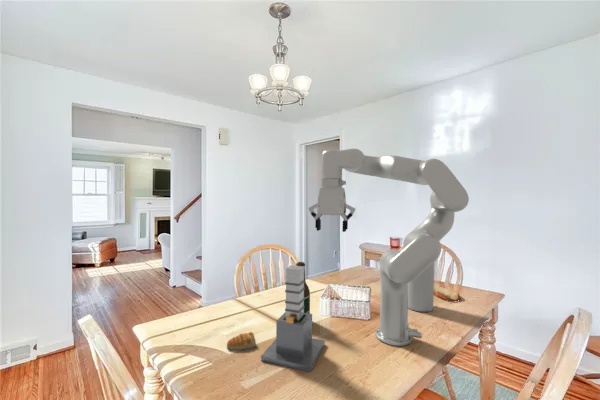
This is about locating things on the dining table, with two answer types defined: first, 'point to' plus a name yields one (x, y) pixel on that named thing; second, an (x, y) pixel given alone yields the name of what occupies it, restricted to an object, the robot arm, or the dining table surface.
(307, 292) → the beer bottle
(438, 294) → the slice of bread
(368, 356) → the dining table surface
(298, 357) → the stand
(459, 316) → the dining table surface
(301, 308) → the column
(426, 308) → the cylinder vase
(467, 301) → the dining table surface
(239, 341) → the pastry
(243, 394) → the dining table surface
